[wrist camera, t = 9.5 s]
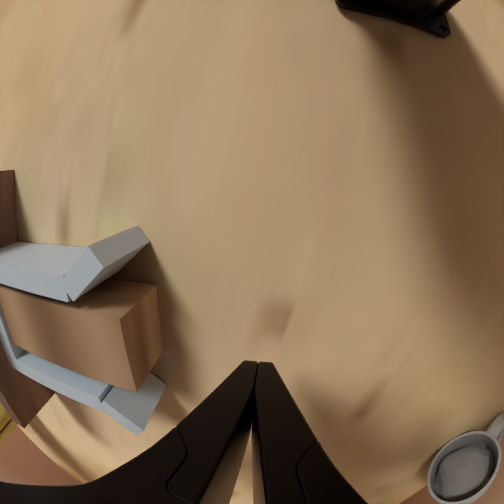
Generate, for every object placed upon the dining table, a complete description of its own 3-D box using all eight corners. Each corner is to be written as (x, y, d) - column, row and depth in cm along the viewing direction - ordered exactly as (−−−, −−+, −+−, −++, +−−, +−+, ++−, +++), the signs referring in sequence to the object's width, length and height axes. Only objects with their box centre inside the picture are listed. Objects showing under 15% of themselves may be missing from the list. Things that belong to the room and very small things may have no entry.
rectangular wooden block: (158, 283, 13) (119, 319, 10) (165, 347, 15) (137, 392, 11) (35, 266, 14) (-5, 286, 10) (47, 318, 15) (13, 343, 12)
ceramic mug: (429, 477, 18) (445, 523, 10) (416, 460, 16) (436, 518, 9) (503, 424, 15) (528, 465, 8) (505, 395, 14) (540, 443, 7)
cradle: (149, 226, 12) (101, 247, 9) (168, 393, 15) (146, 438, 11) (16, 223, 13) (-27, 236, 10) (46, 354, 16) (18, 380, 12)
